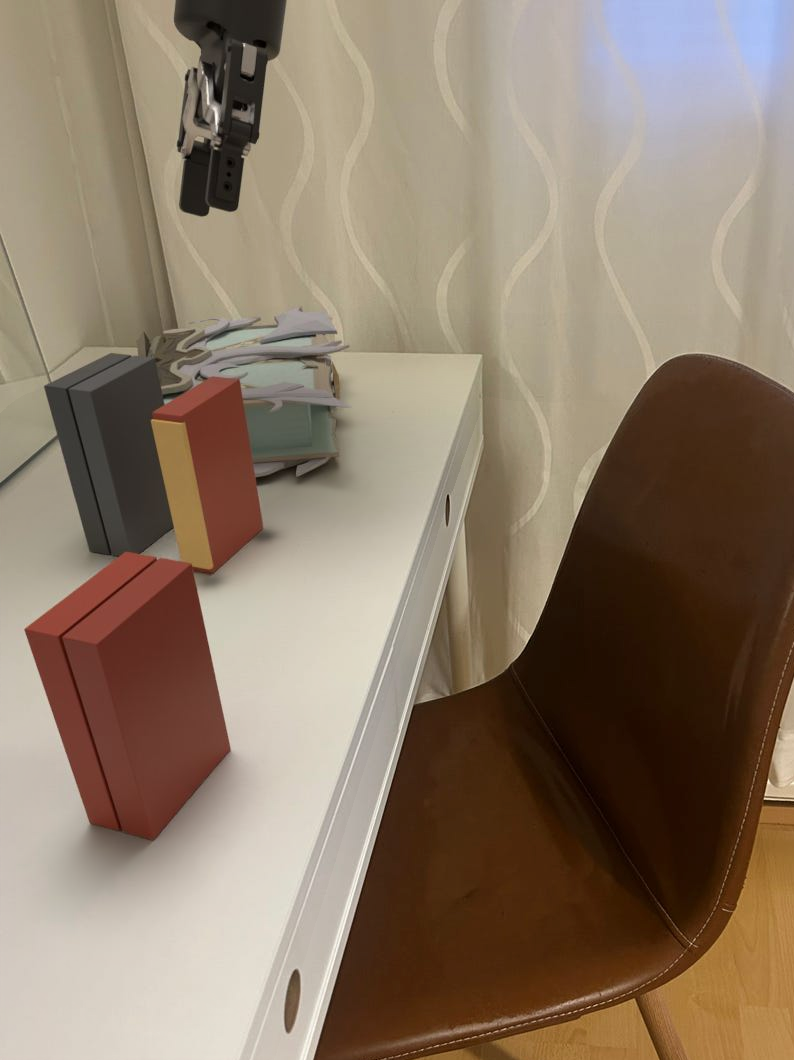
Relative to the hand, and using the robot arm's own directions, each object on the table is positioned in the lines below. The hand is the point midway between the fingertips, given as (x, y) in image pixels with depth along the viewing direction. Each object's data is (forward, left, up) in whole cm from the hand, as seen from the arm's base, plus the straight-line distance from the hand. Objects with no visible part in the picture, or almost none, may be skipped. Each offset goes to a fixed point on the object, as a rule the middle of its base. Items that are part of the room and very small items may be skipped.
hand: (206, 211), depth 73 cm
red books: (+22, -29, -24) cm, 44 cm away
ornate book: (-12, +11, -24) cm, 30 cm away
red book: (+4, -7, -24) cm, 26 cm away
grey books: (-4, -10, -24) cm, 26 cm away
